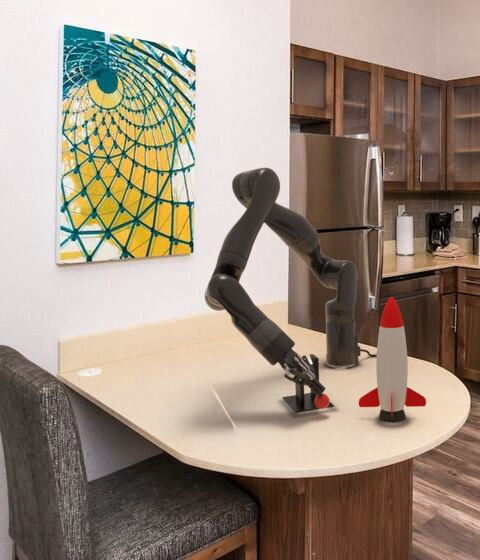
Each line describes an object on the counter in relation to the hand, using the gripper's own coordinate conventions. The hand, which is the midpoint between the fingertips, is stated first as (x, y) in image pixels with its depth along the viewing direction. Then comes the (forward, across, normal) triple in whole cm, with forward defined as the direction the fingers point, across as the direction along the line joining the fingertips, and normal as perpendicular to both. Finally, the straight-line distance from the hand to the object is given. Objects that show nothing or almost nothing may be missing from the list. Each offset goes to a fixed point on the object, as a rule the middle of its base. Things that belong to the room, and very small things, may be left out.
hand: (322, 392), depth 146 cm
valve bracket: (+1, +10, +10) cm, 14 cm away
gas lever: (-2, +6, +3) cm, 7 cm away
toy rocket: (+17, +2, -6) cm, 18 cm away
